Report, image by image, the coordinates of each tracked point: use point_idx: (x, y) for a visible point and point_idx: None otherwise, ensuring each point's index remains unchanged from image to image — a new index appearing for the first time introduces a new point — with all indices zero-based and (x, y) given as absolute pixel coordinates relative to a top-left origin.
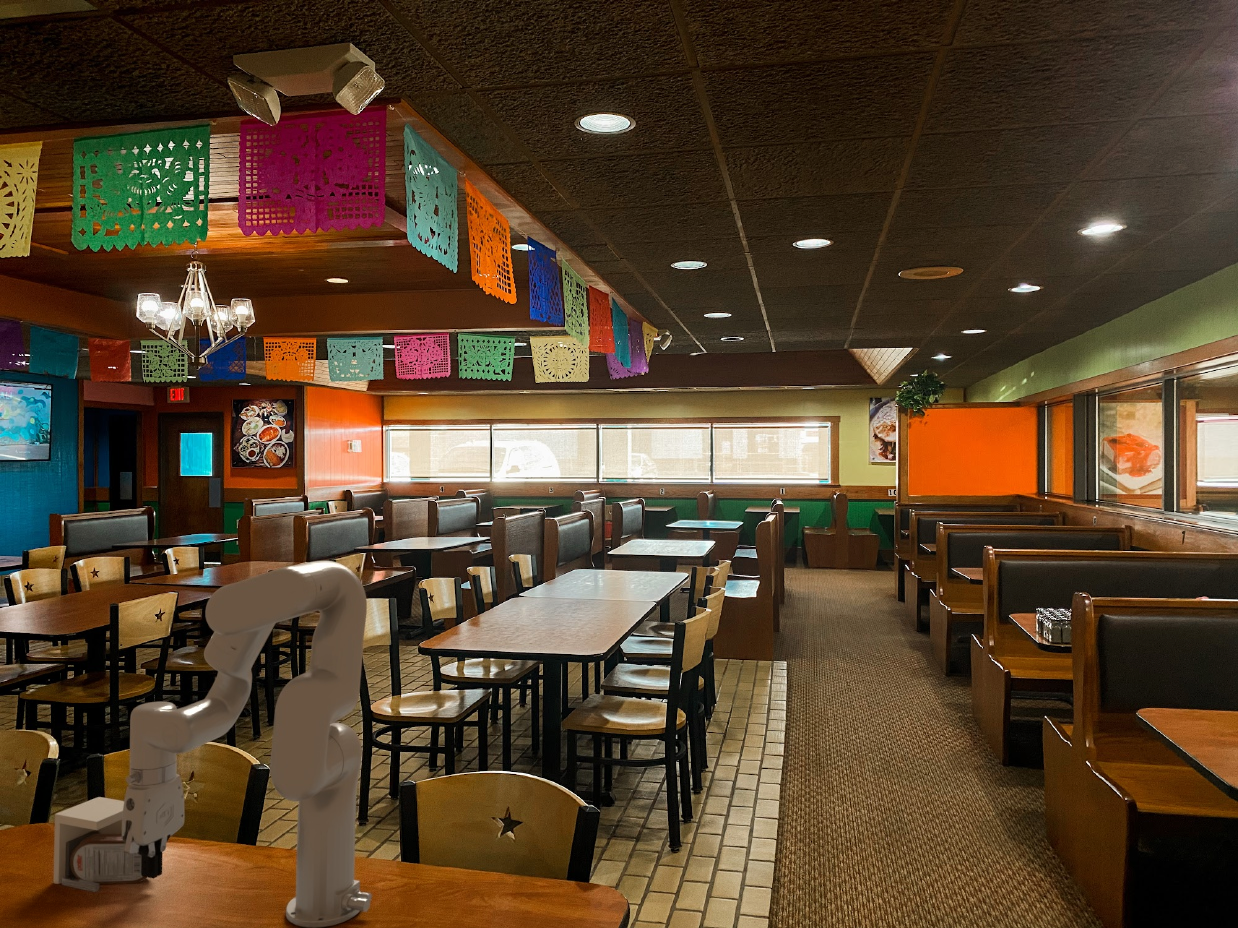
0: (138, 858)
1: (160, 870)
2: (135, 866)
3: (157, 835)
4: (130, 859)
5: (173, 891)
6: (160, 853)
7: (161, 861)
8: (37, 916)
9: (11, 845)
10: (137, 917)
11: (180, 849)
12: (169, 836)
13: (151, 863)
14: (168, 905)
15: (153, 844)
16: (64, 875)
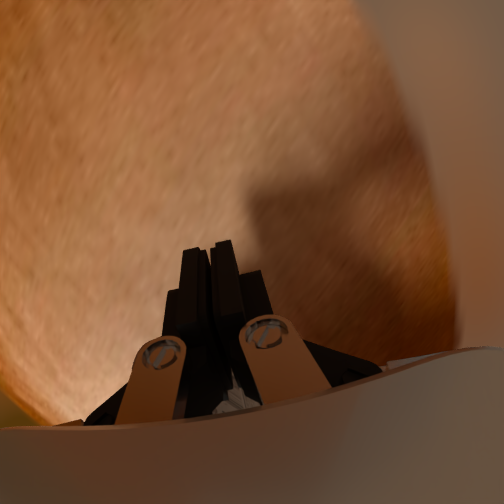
0: (230, 395)
1: (194, 256)
2: (232, 374)
3: (329, 442)
4: (250, 406)
5: (172, 150)
6: (191, 323)
7: (186, 285)
8: (452, 327)
9: None
10: (388, 77)
11: (46, 396)
12: (93, 417)
13: (245, 300)
14: (266, 47)
15: (271, 389)
16: None
